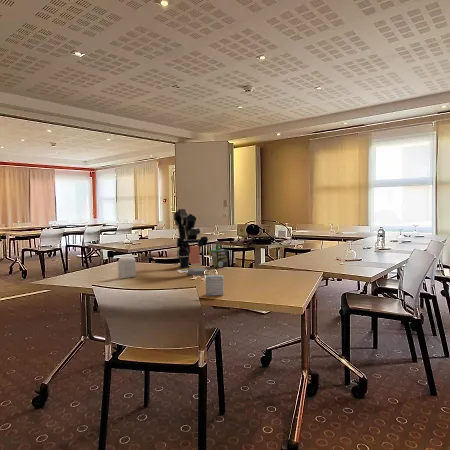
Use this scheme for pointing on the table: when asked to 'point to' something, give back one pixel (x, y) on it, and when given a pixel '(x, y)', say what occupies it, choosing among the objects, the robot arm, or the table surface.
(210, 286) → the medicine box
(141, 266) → the table surface
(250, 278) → the table surface
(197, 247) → the red block
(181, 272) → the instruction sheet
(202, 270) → the base brick
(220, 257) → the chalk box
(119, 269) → the photo printer
